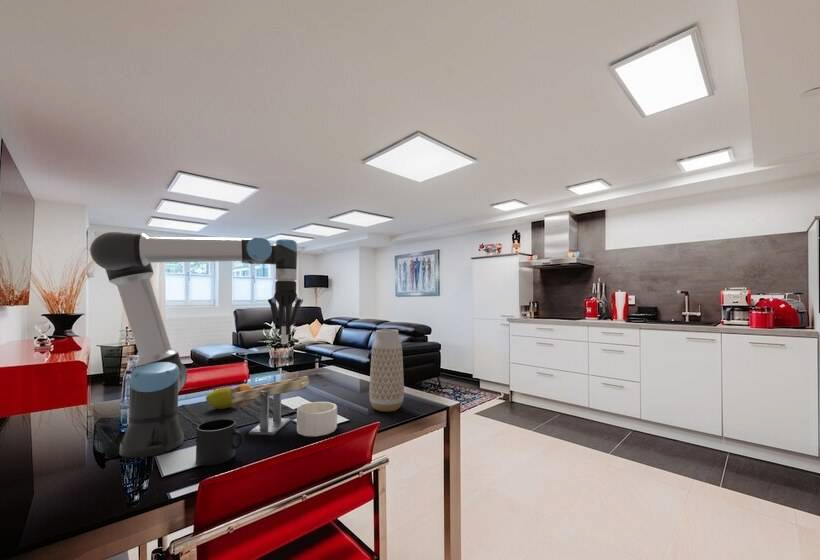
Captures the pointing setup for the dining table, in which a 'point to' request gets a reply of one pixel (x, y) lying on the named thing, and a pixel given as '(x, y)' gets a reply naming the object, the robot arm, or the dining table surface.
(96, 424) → the dining table surface
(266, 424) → the stand
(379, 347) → the vase
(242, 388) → the ball
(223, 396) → the lemon
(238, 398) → the lever
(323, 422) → the pot
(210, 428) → the mug
